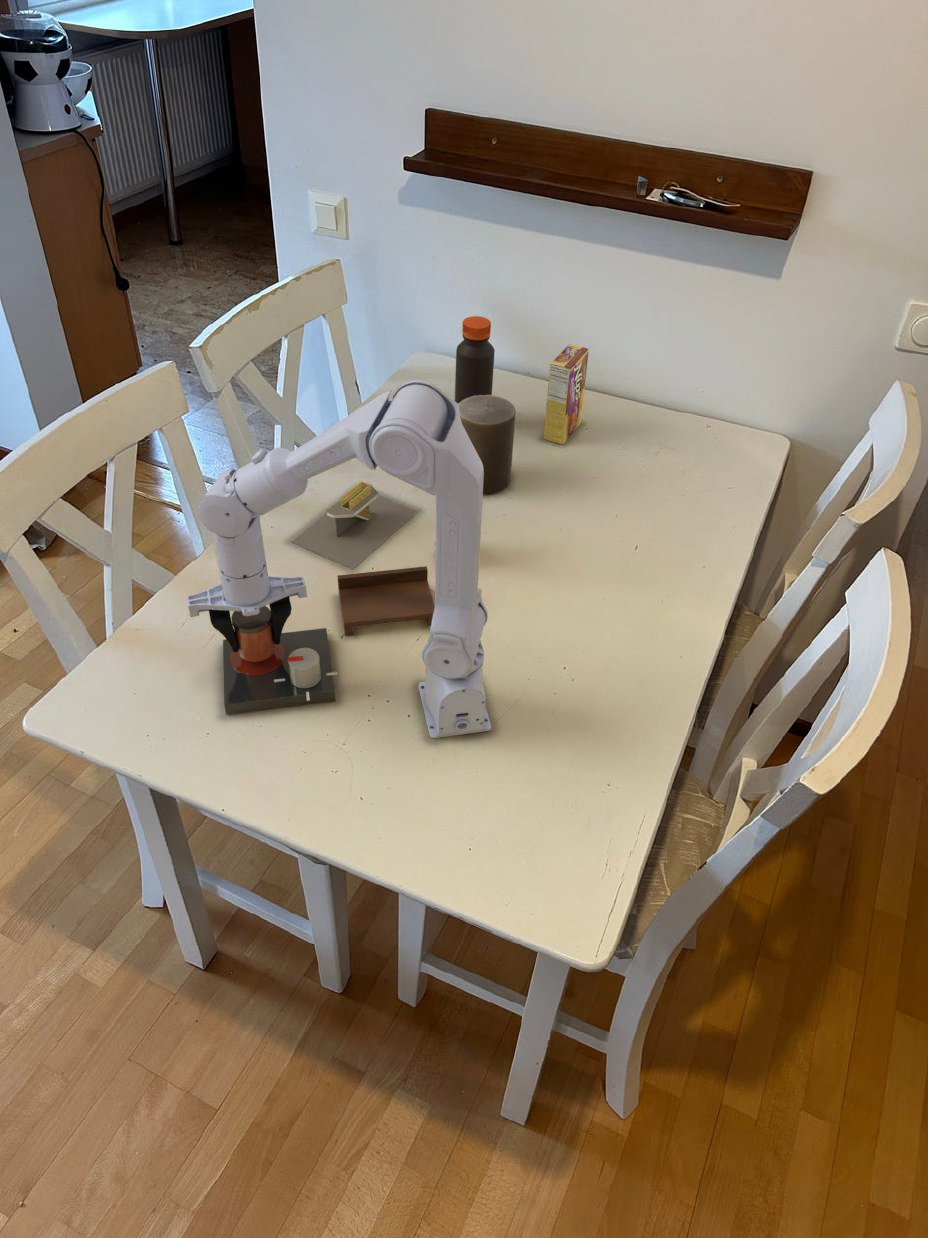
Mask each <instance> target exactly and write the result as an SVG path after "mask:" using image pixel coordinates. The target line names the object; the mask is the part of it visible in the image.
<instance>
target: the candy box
mask: <svg viewBox="0 0 928 1238" xmlns="http://www.w3.org/2000/svg"><path fill="white" fill-rule="evenodd" d="M589 352H590V348H587V347H584V346H581V345H576V344H572V343H568V345H567V346H566V347H565V348H564V349H563V350H562V351H561V352H560V353H559V354H558V355H557V356H556V357H555V358H554V359H553V360H552V361H551V363H550V364H549V373H548V382H547V383H548V385H547V395H546V406H545V416H544V418H545V419H544V428H543V429H544V430H543V440H545V441H548V442H551V443H556V444H559V445H564V444H565V442H566V441H567V440H568V439H569V438H570V437H571V435H572V434H573V433H574V432H575V430H576V429H577V428H578V427H579V426H580V424H581V423H582V414H583V405H584V397H585V388H586V379H587V370H588V360H589Z"/></svg>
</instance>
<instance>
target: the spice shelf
mask: <svg viewBox="0 0 928 1238" xmlns="http://www.w3.org/2000/svg"><path fill="white" fill-rule="evenodd" d="M428 573H429V572H428V567H427V565H425V566H416V567H406V568H397V569H396V568H395V569H386V570H378V571H366V572H358V573H348V574H338V575H337V576H336V577H337V588H338V601H339V607H340V613H341V618H342V626H343V631H344V636H354V628H360V627H368V626H377V625H378V626H379V625H386V624H395V623H403V622H411V621H422V620H425V621H426V625H427V627H431V623H432V618H433V613H434V608H435V601H434V599H433V595H432V591H431V588H430V585H429V581H428V576H429V575H428Z"/></svg>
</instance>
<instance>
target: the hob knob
mask: <svg viewBox="0 0 928 1238" xmlns="http://www.w3.org/2000/svg"><path fill="white" fill-rule="evenodd" d="M288 665H289V673H290V680H291V682H292V684H293V685H295V686H296V687H299V688H311V687H313V686H315V685H317V684H318V683H319V681H320V680H321V668H320V659H319V654H318V653H317V652H316V651H315V650H313V649H310V648H300V649H297V650H295V651H293V652H292V653H291V654H290V655H289V657H288Z"/></svg>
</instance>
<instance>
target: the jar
mask: <svg viewBox="0 0 928 1238" xmlns="http://www.w3.org/2000/svg"><path fill="white" fill-rule="evenodd" d="M231 621H232V625H233V628H234V631H235V636H236V641H237V645H238V651H239V655H240V656H241V657H242V658H243V659H244V660H247V661H250V662H259V661H263V660H265V659H267V658H269V657H270V656H271V655H272V654H273V653H274V651H275V643H274V637H273V629H272V622H271V621H272V617H271V611H270V607H268V606H267V605H266V606H264V607H261V608H260V613H259V614H256V615H251V616H244V615H243V614H242V612H241V611H232V614H231Z"/></svg>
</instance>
